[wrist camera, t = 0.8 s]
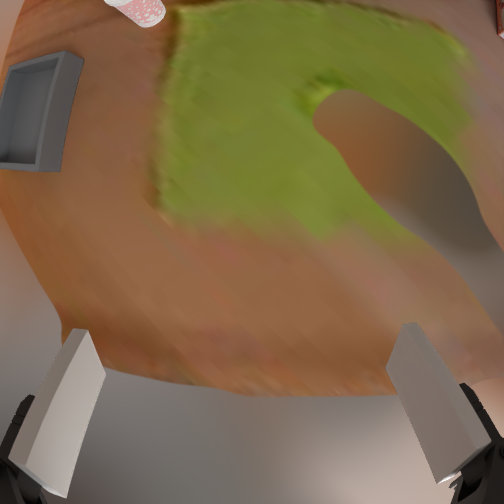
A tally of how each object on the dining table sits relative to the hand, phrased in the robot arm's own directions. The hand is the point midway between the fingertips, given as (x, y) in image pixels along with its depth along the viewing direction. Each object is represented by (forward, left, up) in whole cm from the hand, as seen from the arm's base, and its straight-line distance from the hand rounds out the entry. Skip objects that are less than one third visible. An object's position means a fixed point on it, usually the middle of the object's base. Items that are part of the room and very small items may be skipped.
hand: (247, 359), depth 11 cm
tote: (-14, -40, -25) cm, 50 cm away
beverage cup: (-30, -23, -26) cm, 45 cm away
